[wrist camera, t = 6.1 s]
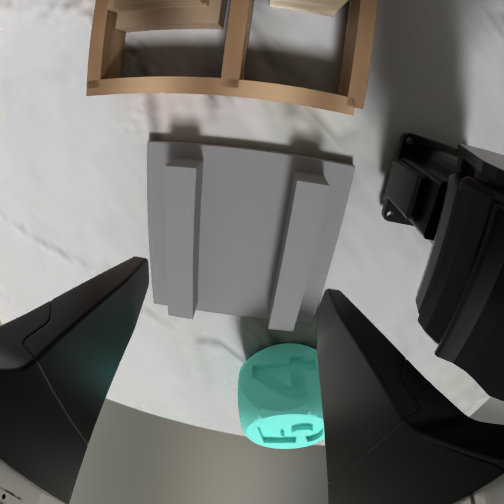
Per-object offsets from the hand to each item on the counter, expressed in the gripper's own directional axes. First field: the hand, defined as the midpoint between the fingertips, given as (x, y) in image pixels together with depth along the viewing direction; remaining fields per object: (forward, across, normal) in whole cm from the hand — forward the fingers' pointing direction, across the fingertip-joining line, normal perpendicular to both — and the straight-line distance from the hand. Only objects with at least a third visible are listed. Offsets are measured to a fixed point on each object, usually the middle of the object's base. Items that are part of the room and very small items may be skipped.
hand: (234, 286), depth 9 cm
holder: (+13, 0, +6) cm, 14 cm away
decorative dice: (+13, -7, +20) cm, 25 cm away
